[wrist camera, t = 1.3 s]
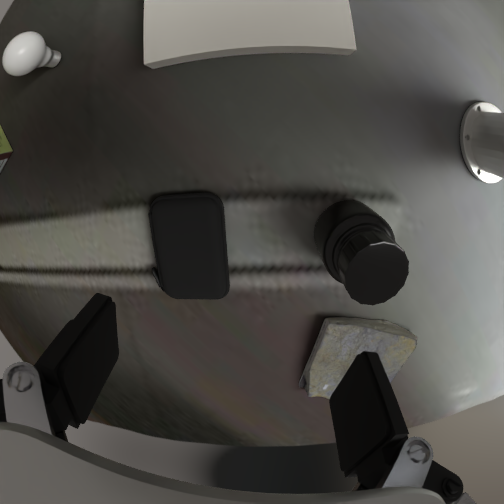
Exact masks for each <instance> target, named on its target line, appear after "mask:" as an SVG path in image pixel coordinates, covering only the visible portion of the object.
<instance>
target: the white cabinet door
mask: <svg viewBox="0 0 504 504" xmlns="http://www.w3.org/2000/svg"><path fill="white" fill-rule="evenodd" d="M354 51H356V42H355V35H354V29H353V22H352V17H351V11H350V6H349V0H144V65H146V66H148V67H150V68H152V69H156V68H160V67H165V66H169V65H174V64H179V63H185V62H191V61H197V60H203V59H210V58H218V57H227V56H237V55H249V54H266V53H317V54H334V55H347V56H349V55H351V54H352V53H353V52H354Z"/></svg>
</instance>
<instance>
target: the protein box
mask: <svg viewBox="0 0 504 504" xmlns="http://www.w3.org/2000/svg"><path fill="white" fill-rule="evenodd" d="M12 152H13V150H12V148H11V146H10V144H9V142H8V140H7V138H6V136H5V134H4V132H3V129H2V127H1V125H0V174H1V172H2V170H3V168H4V166H5V164H6V162H7V161H8V159H9V157H10V155H11V154H12Z"/></svg>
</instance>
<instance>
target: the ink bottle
mask: <svg viewBox="0 0 504 504" xmlns="http://www.w3.org/2000/svg"><path fill="white" fill-rule="evenodd" d="M314 239H315V244H316V247H317V249H318V251H319V254H320V256H321V258H322V261H323V263H324V265H325V267H326V269H327V271H328V272H329V274H330V275H331V276H332V277H333V278H334V279H335V280H337V281H338V282H340V283H342V284H344V286H345V288H346V290H347V291H348V293H349V294H350V297H351V298H352V299H354V300H356V301H357V302H359V303H360V304H367V305H375V304H379V303H384V302H386V301H387V300H389V299H390V298H392V297H393V296H395V295H396V294H397V293H398V291H399V290H400V289H401V288H402V287H403V286H404V284H405V281H406V278H407V276H408V273H409V272H408V264H409V261H408V259H407V257H406V254H405V251H404V250H403V249H402V248H401V247H400V246H399V245H398V244H397V243H396V242H395V237H394V234H393V231H392V229H391V227H390V226H389V224H388V223H387V222H386V221H385V220H384V219H383V218H382V217H381V216H379V215H378V214H377V213H376V212H374V211H373V210H372V209H371V208H369V207H368V206H367V205H365V204H363V203H361V202H359V201H355V200H344V201H340V202H337V203H335V204H333V205H331V206H330V207H328V208H327V209H326V210H325V211H324V212H323V213H322V214H321V215H320V217H319V218H318V220H317V222H316V225H315V230H314Z"/></svg>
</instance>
